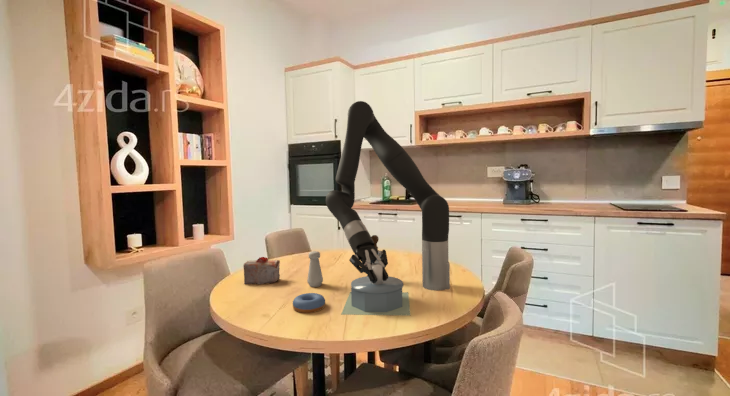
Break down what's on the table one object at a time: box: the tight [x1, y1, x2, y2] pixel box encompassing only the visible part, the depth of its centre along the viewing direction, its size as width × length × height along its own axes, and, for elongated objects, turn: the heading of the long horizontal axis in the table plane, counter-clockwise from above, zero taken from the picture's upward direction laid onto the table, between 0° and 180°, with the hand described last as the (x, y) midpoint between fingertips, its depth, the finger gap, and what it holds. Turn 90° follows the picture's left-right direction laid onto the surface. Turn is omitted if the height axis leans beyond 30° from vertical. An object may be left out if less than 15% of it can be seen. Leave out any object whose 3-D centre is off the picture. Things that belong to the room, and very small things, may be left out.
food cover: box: [350, 263, 404, 312], centre depth 109 cm, size 16×16×12 cm
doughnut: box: [292, 292, 326, 314], centre depth 107 cm, size 10×10×5 cm
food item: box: [243, 256, 281, 285], centre depth 135 cm, size 14×8×10 cm, turn 93°
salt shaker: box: [307, 250, 324, 288], centre depth 128 cm, size 6×6×13 cm
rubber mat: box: [340, 291, 411, 317], centre depth 109 cm, size 20×20×1 cm
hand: (380, 280), depth 107 cm, fingers closed on food cover, 3 cm apart
